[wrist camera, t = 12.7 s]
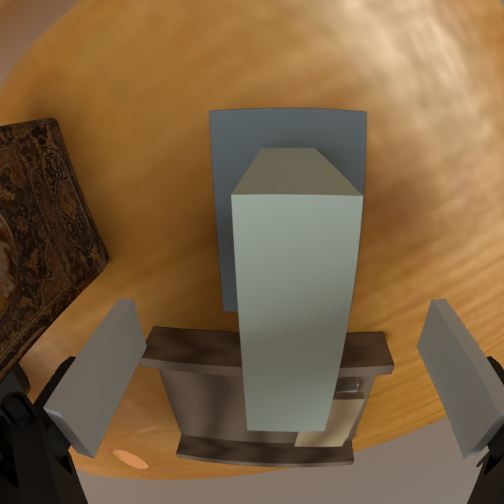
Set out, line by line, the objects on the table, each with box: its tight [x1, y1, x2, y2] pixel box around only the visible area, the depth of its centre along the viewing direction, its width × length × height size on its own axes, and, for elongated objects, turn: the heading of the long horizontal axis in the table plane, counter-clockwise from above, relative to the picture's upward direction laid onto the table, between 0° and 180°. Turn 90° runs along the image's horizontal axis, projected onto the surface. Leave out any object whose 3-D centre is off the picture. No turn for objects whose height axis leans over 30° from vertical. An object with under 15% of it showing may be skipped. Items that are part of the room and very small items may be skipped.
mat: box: [209, 108, 367, 312], centre depth 25 cm, size 12×18×1 cm, turn 2°
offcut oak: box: [294, 392, 365, 447], centre depth 31 cm, size 6×10×1 cm, turn 178°
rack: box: [139, 327, 394, 467], centre depth 33 cm, size 24×20×5 cm
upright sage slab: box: [231, 147, 363, 432], centre depth 18 cm, size 4×12×15 cm, turn 2°
